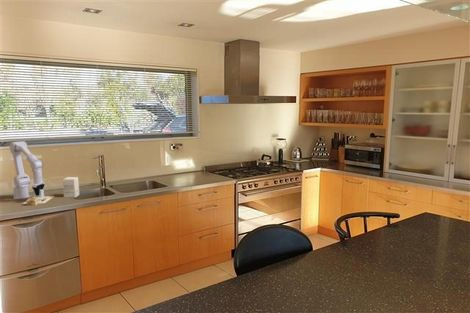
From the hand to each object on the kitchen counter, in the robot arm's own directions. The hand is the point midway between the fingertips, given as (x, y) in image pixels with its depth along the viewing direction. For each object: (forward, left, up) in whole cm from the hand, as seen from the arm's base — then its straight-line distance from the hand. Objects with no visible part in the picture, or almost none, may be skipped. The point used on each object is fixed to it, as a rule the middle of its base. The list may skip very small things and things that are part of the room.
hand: (39, 194), depth 252 cm
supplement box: (+20, +10, -5) cm, 23 cm away
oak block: (0, -12, -4) cm, 13 cm away
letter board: (-1, +1, -5) cm, 5 cm away
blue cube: (0, 0, -2) cm, 2 cm away
